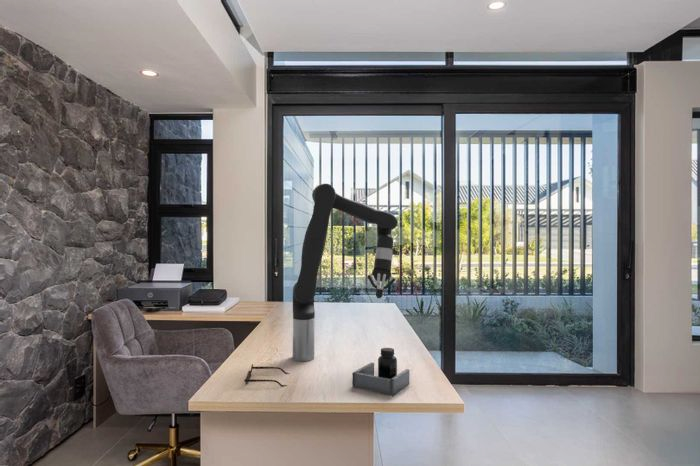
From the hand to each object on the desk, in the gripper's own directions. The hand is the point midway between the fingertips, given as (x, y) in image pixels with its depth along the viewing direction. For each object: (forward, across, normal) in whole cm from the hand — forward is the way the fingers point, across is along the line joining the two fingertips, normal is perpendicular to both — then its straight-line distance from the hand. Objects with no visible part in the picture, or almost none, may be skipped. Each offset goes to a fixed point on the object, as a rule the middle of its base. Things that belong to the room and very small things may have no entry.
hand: (378, 298), depth 185 cm
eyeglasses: (+36, -38, -26) cm, 58 cm away
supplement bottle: (+30, +5, -28) cm, 41 cm away
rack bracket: (+30, +3, -30) cm, 43 cm away
